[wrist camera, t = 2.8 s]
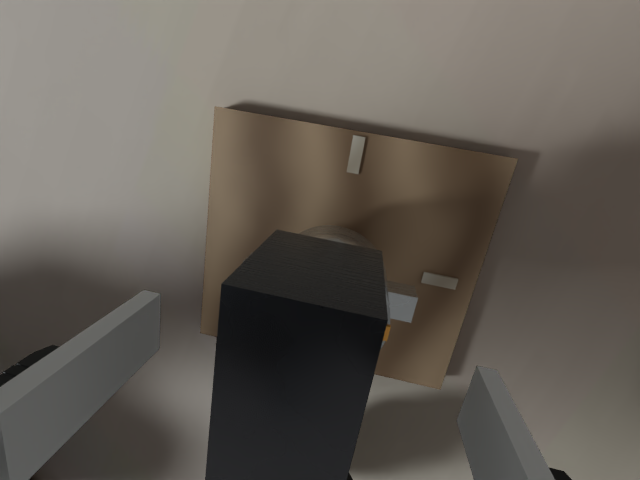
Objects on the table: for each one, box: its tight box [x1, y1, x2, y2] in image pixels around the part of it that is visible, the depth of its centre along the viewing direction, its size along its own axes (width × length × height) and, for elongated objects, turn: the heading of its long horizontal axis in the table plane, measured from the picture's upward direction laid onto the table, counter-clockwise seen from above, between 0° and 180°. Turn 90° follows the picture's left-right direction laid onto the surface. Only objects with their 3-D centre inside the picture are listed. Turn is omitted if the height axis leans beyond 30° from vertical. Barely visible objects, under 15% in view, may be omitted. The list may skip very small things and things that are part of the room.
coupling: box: [205, 225, 418, 480], centre depth 16 cm, size 10×10×13 cm
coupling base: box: [200, 106, 518, 389], centre depth 24 cm, size 20×18×5 cm
